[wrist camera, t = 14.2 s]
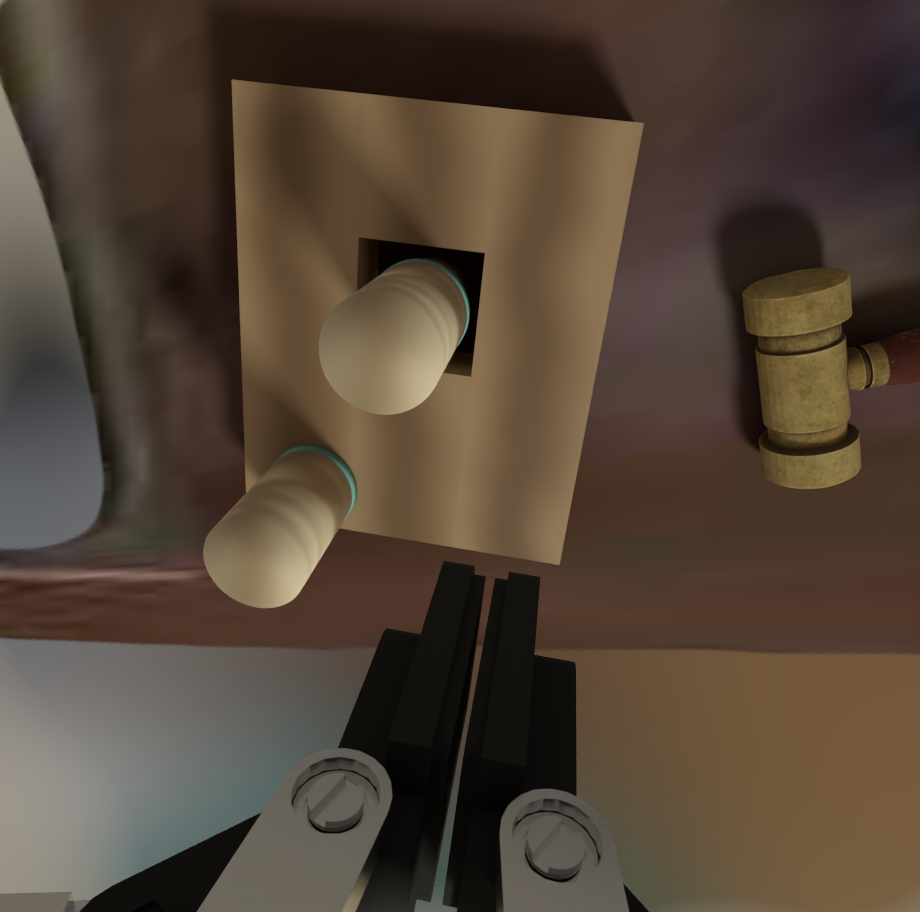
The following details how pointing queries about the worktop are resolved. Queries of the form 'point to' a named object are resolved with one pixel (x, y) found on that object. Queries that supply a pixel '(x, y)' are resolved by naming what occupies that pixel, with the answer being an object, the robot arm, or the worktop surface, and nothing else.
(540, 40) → the worktop surface
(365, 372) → the peg
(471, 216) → the board
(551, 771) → the robot arm
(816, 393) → the gavel
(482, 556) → the worktop surface
